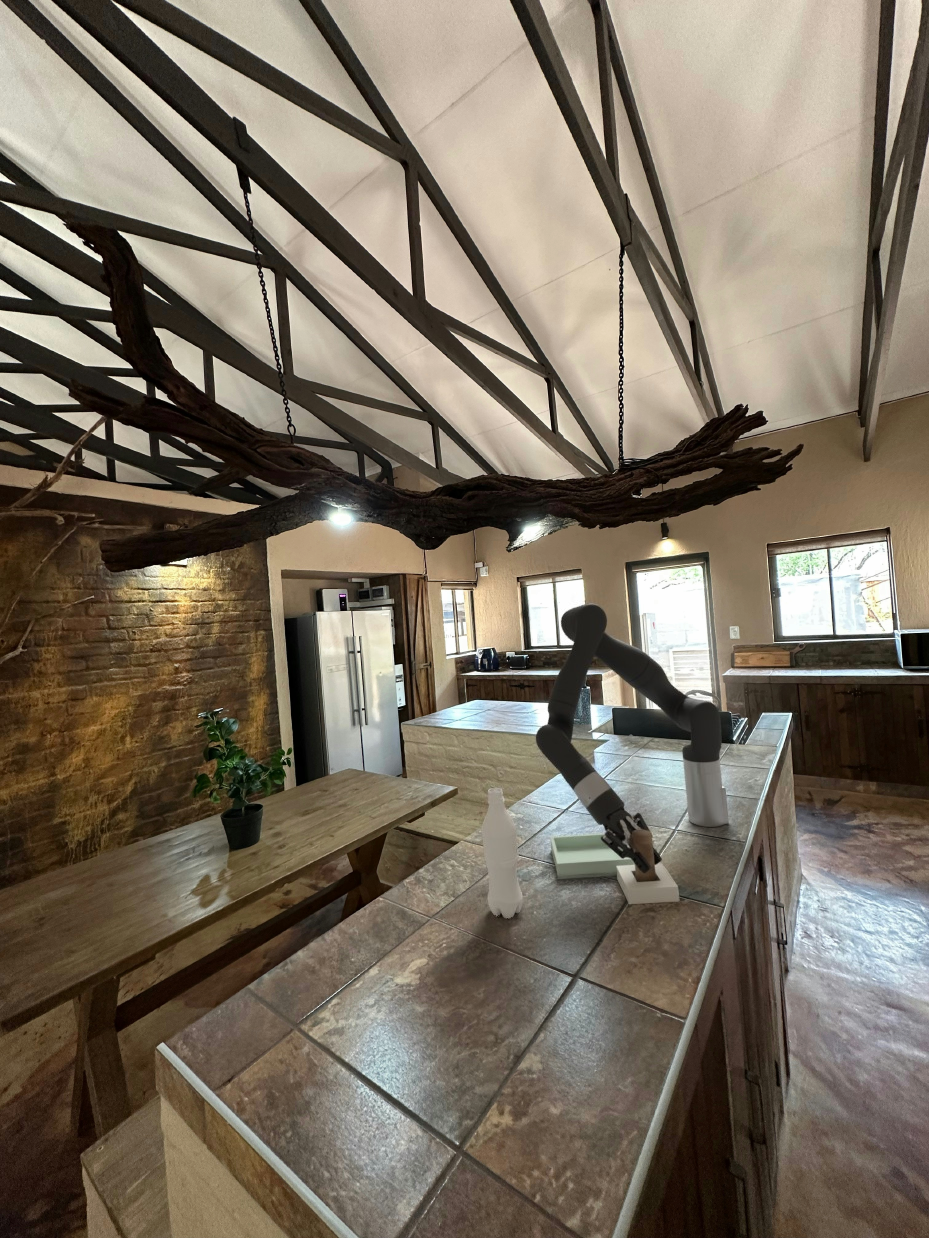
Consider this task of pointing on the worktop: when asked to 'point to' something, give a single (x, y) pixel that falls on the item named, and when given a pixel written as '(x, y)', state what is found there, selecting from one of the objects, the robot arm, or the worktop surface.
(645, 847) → the dowel
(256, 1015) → the worktop surface
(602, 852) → the tray
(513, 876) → the water bottle
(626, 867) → the dowel block
